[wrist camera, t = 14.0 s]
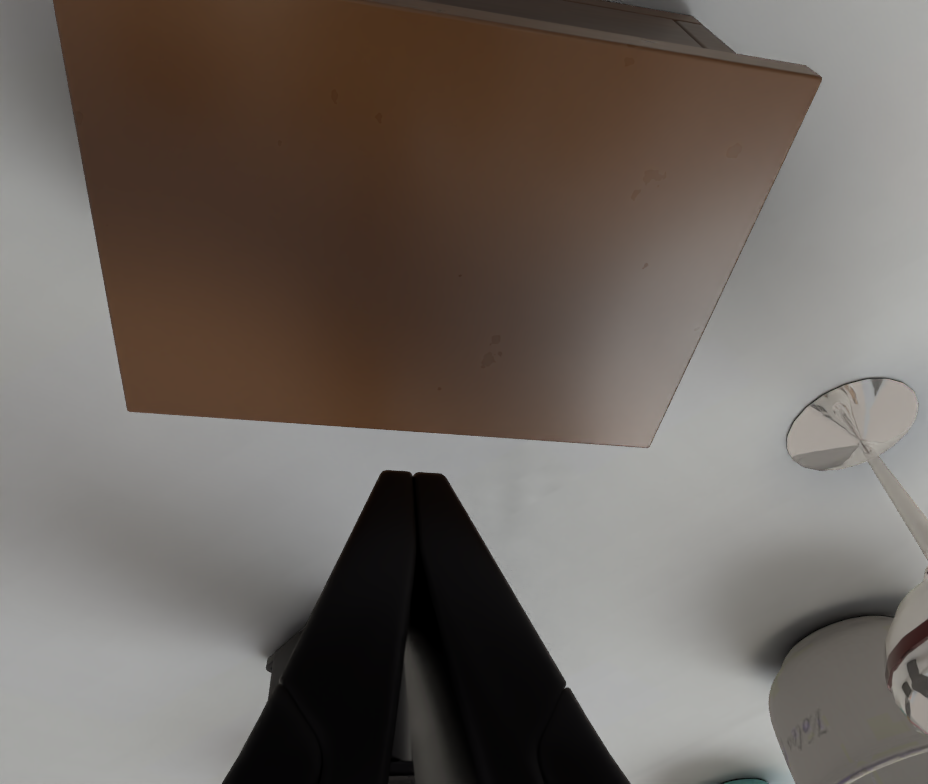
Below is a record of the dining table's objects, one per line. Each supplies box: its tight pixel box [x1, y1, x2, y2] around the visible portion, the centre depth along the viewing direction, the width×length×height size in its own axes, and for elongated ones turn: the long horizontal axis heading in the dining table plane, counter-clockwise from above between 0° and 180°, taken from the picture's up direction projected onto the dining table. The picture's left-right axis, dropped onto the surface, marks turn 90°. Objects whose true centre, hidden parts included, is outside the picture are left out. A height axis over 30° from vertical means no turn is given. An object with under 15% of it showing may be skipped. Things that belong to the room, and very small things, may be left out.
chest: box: [421, 0, 736, 54], centre depth 17 cm, size 9×13×6 cm
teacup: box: [769, 616, 928, 784], centre depth 38 cm, size 14×11×8 cm
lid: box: [53, 0, 822, 448], centre depth 15 cm, size 9×13×1 cm
